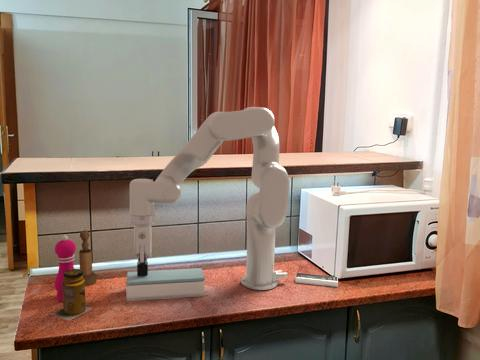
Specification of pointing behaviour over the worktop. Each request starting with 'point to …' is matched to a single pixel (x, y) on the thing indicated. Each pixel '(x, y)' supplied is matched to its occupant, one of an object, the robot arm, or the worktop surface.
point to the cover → (166, 276)
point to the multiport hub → (316, 279)
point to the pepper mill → (63, 262)
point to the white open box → (165, 290)
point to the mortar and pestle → (86, 260)
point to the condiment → (72, 295)
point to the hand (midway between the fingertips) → (142, 274)
